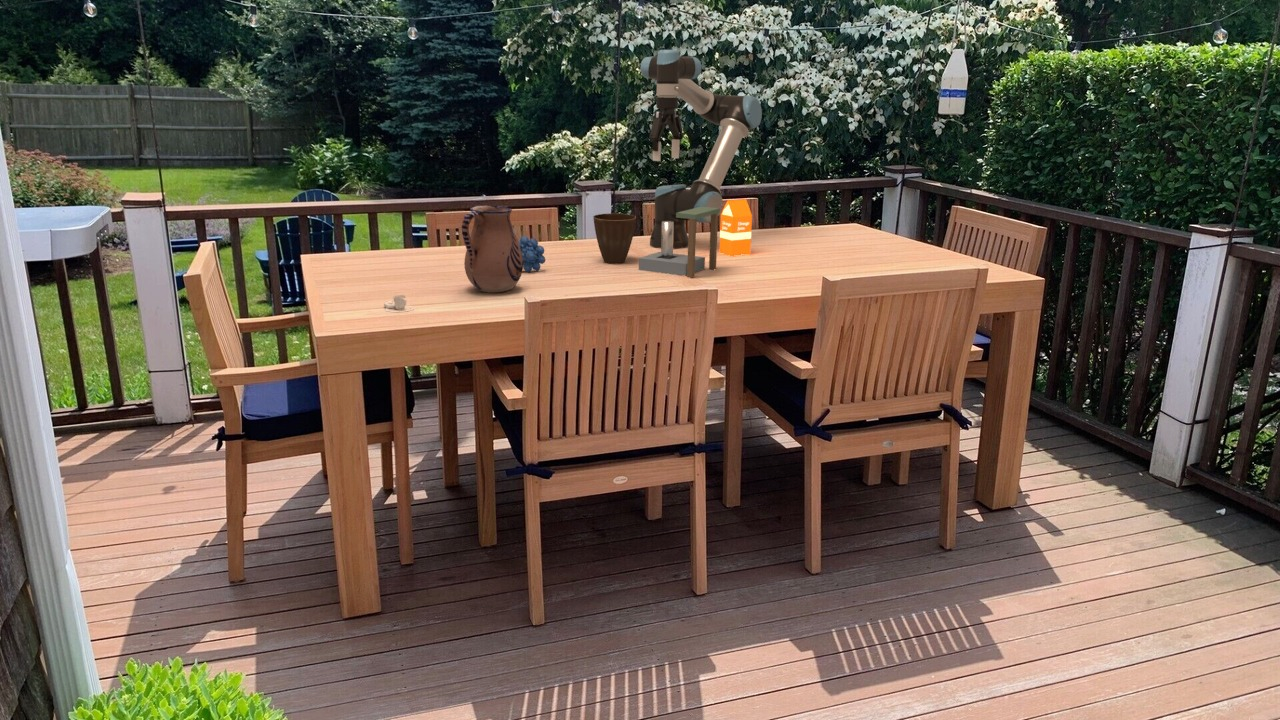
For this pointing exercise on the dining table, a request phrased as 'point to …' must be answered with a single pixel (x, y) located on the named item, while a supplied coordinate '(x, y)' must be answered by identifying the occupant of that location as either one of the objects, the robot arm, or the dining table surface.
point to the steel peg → (667, 239)
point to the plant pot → (614, 236)
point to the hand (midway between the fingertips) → (666, 159)
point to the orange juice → (735, 228)
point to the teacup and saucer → (397, 304)
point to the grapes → (531, 254)
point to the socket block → (669, 264)
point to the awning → (692, 217)
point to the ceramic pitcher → (491, 249)
